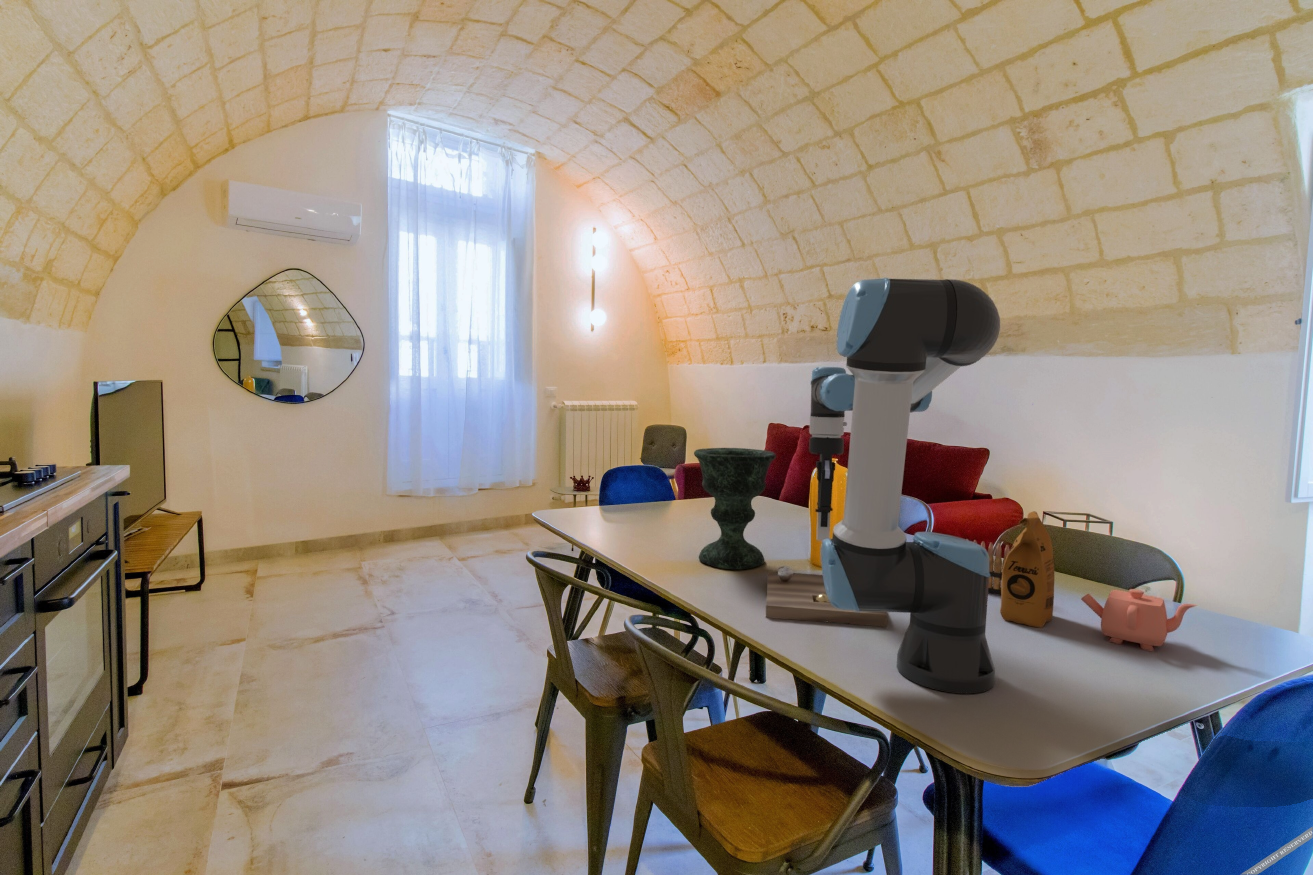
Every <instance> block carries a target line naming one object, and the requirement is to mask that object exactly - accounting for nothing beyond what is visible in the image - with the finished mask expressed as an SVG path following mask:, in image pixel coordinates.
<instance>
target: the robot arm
mask: <svg viewBox="0 0 1313 875" xmlns="http://www.w3.org/2000/svg"><path fill="white" fill-rule="evenodd" d="M1000 331H1001V317H1000V315H999V309H998V308H997V305H996V304H995V303H994V301H993V299H992V298H991V297H990V296H989V295H988V294H987V293H986V292H985V291H984V290H983V289H982V288H980V287H978V286H977V285H975V284H973V283H969V282H967V281H964V280H960V279H948V278H947V279H925V278H924V279H923V278H922V279H919V278H918V279H915V278H888V277H883V278H871V279H868V278H867V279H861V280H858V281H857V282H855V283H854V284H853V285H852V286H851V287H850V288H849V290H848V292H847V293H846V295H845V299H844V300H843V305H842V307H841V311H840V315H839V319H838V324H837V331H836V337H837V340H836V349H837V350H836V351H837V353H838V355H840V356H842V357H844V358H846V364H845V366H846V368H847V370H848V371H849V372H850V373H851V374H848V373H847V370H846V369H845V368H844V367H839V366H821V367H819V366H818V367H815V368H813V369H812V371H811V372H812V373H811V380H810V386H811V387H810V417H809V434H810V435H811V436H810V437H809V442H808V443H809V444H808V446H809V447H808V452H809V453H811V454H812V455H813V454H814V455H819V461H816V463H815V468H816V479H817V502H816V505H817V508H815V510H814V511H815V513H816V514H817V516H816V517H817V518H816V519H817V520H816V521H817V523H816V541H818V542H819V541H820V542H821V546H820V563H821V571H822V575H823V580H824V585H825V590H826V594H827V597H828V599H829V601H830V603H831V604H832V605H833V606H834V607H835V608H837V609H843V610H854V611H856V612H859V611H874V612H886V613H904V614H905V613H906V614H907V613H908V614H909V613H910V614H909V624H908V627H907V629H906V631H905V633H904V636H903V639H902V641H901V643H900V646H899V648H898V650H897V653H896V669H897V670H898V672H899V673H900V674H901V675H902V676H903V677H904V678H906V679H908V680H909V681H911V682H914V683H916V684H918V685H919V686H923V687H926V688H929V689H932V690H937V691H941V692H945V693H954V694H979V693H984V692H986V691H989V690H990V689H992V688H993V687H994V686H995V679H996V677H995V676H996V670H995V669H996V668H995V665H994V661H993V658H992V654H991V651H990V646H989V644H988V640H987V637H986V631H987V630H986V626H987V611H988V601H989V600H988V599H989V598H988V596H989V593H988V587H989V577H990V573H989V555H988V550H987V549H986V547H985V548H983V547H982V546H981V544H978V542H977V543H974V541H972V540H969V539H968V540H966V539H965V538H962V537H959V536H955V535H950V534H944V533H939V532H938V533H937V532H932V531H917V532H915V533H914V534H913V537H912V541H907V534H906V533H905V532H904V530H902V529H901V527H900V526H899V519H900V509H901V501H902V492H903V491H902V489H903V482H904V473H905V472H904V471H905V462H906V461H905V460H906V453H907V446H908V445H907V443H908V434H909V425H910V424H909V423H910V414H911V413H920V412H921V413H922V412H925V411H927V410H928V409H929V407H930V404H931V402H932V400H933V398H932V397H933V390H935V389H936V388H937V387H938V386H939V385H940V384H942V383H943V382H944V381H945V380H947V379H948V378H949V377H950V376H952V375H953V374H954V373H955V372H957V370H959V369H960V368H961V367H968V366H970V365H971V366H972V365H974V364H976V363H977V362H978V361H981V359H982V358H984V357H985V356H986V355H987V354H988V353H989V352H990V351H991V350H992V349H993V347H994V346H995V345H996V342H997V341H998V338H999V335H1000ZM846 411H847V412H848V411H850V412H852V414H851V425H850V437H849V438H850V439H849V450H848V461H847V470H846V472H847V473H846V474H847V475H846V484H845V497H844V510H843V519H842V520H840V521H839V522H838V523H836V524H835V525H834V526H833V530H832V538H830V535H831V534H830V531H831V530H830V529H831V527H830V526H831V512H833V510H834V509H833V507H832V498H833V496H832V495H833V482H834V480H835V479H834V478H835V477H834V476H835V470H836V462H834V461H833V456H836V455H837V456H839V455H843V454H844V450H845V449H844V443H845V439H844V438H843V437H841V436H844V434H845V428H844V427H847V426H848V422H847V421H845V416H846Z"/></svg>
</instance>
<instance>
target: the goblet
mask: <svg viewBox="0 0 1313 875" xmlns="http://www.w3.org/2000/svg"><path fill="white" fill-rule="evenodd" d="M693 455H694V456H695V457H696V459H697V460H698V462H699V467H700V470H701V473H702V481H701V482H702V483H701V486H702V488H703V489H704V491H705V492H707V493H708V494H709V495H710V496H712V497H713V498H714V505H713V507H712V508H711V509H710V515H711V517H712V519H713V520H714V521H715V522H716V523H717V524H718V525H717V526H718V527H719V529H720V536H719V538H718V539H717V540H715V541H713V542H709V543H708V544H706V545H705V546H704V547H703V548H702V549H701V550H700V551H699V552H700V553H699V555H698V559H699V561H701V563H703V564H705V565H707V566H711V567H714V568H718V569H723V570H733V571H734V570H736V571H738V570H748V569H753V568H756V567H759V566H761V565H763V564H764V563H765V560H766V559H765V557H764V554H763V553H762V551H761V550H760V549H759V547H757V546H755V545H753V544H752V543H749V542H748V541H747V540H746V539H745V536H744V532H745V529H746V528H747V526H748V524H749V523H751V522H752V521H753V520H754V518H755V517H756V512H755V509H753V507H752V500H753V499H754V498H756V497H758V496H759V495H761V494H762V493H763V492H764V491H765V489H766V487H767V486H766V478H767V474H768V471H769V468H770V465H771V463H772V462H773V461H774V460H775V459H776V457H777V455H776V453H775V452H774V451H769V450H766V449H765V450H763V449H756V448H755V449H754V448H742V447H711V448H698V449H696V450H695V451H694V452H693Z"/></svg>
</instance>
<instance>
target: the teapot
mask: <svg viewBox="0 0 1313 875" xmlns="http://www.w3.org/2000/svg"><path fill="white" fill-rule="evenodd" d="M1107 596H1108V597H1107V599H1106V601H1105V604H1104V606H1102V605H1101V604H1100V603H1099V602H1098V601H1097V600H1096V599H1095V598H1094V597H1093V596H1092V595H1091V594H1090V593H1087V594H1085V595H1084V596H1083V597H1081V599H1080V600H1082V602H1083V603H1084V604H1086V606H1088V608H1090V610H1091V611H1093V612H1094V614H1096V615H1097V616H1098V617H1099V618H1100V620H1101V622H1100V629H1101V632H1102V635H1104V636H1106V637H1107V636H1108V637H1110V639H1109V642H1111V643H1113V644H1116V645H1122V644H1123V642H1124V641H1127V642H1131V643H1137V644H1139V646H1140V649H1142V650H1145V651H1150V652H1153V651H1155V650H1154V647H1162V646H1163V645H1164V643H1165V641H1166V640H1167V636H1168V633H1172V632H1174V631H1177V630H1178V628H1180V626H1181V624H1182V622H1183V618H1184V616H1185V614H1186V612H1187V611H1188V610H1189V609H1192V608H1194V607H1197V606H1198V604H1194V603H1193V604H1192V603H1183V604H1181V605H1179V606H1178V607H1177V609H1176V612H1175V614H1174V615H1173V616H1172V617H1170V618H1168V615H1167V614H1168V613H1167V608H1166V604H1165V599H1164V598H1162V597H1157V596H1153V595H1148V594H1145V592H1144V591H1143V590H1140V589H1134V588H1130V589H1129V591H1125V590H1119V589H1112V590H1111V591H1110V592H1109V594H1108V595H1107Z"/></svg>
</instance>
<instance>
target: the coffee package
mask: <svg viewBox="0 0 1313 875" xmlns="http://www.w3.org/2000/svg"><path fill="white" fill-rule="evenodd" d="M1018 524H1019V525H1022V526H1025V528H1024V529H1023V530H1022V532H1021V533H1019V535H1018V536H1017V537H1016V538H1015V540H1014V542H1013V544H1012V546H1011V548H1009V550H1010V551H1009V553H1008V555H1007V557H1006V560H1005V562H1004V566H1003V572H1002V571H1001V572H1002V580H1001V595H1000V596H1001V597H1000V609H999V610H1000V611H999V612H1000V615H1001V618H1002V619H1003V620H1004V621H1007V622H1009V621H1011V622H1012V623H1013V622H1014V623H1015V624H1019V625H1026V626H1028V627H1034V628H1039V629H1041V628H1043V627H1044V625H1045V624H1046V623H1048V622H1050V621H1052V618H1053V614H1054V602H1055V601H1054V600H1055V564H1054V550H1053V549H1054V548H1053V542H1052V538H1051V536H1050V534H1049V532H1048V530H1047V528H1046V527H1045V525H1044V523H1043V522H1042V520H1041V518H1040V516H1039V514H1038V512H1037V511H1030V512H1029V513H1028V514H1027V517H1023V518H1022V519H1021V520H1020V521H1019V522H1018Z"/></svg>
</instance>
